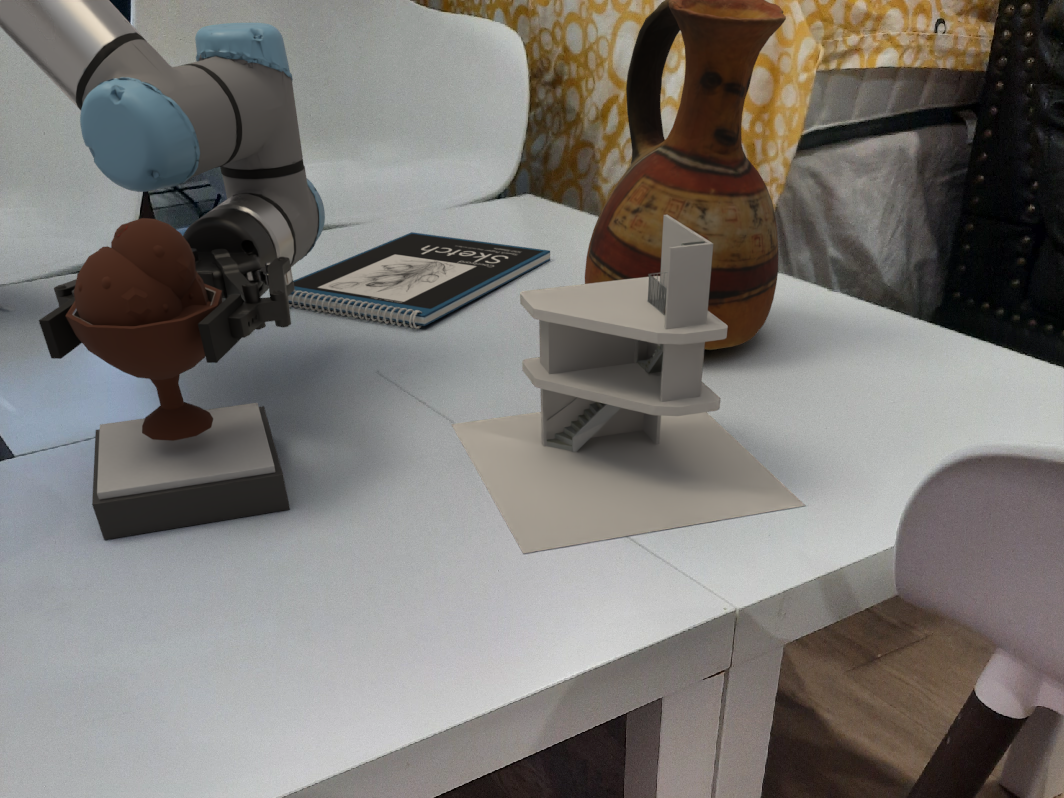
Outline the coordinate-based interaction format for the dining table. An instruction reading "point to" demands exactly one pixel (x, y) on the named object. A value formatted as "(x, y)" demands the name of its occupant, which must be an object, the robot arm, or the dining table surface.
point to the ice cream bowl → (147, 317)
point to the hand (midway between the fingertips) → (127, 341)
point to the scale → (186, 474)
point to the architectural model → (621, 414)
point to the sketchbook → (414, 278)
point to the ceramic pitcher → (696, 162)
